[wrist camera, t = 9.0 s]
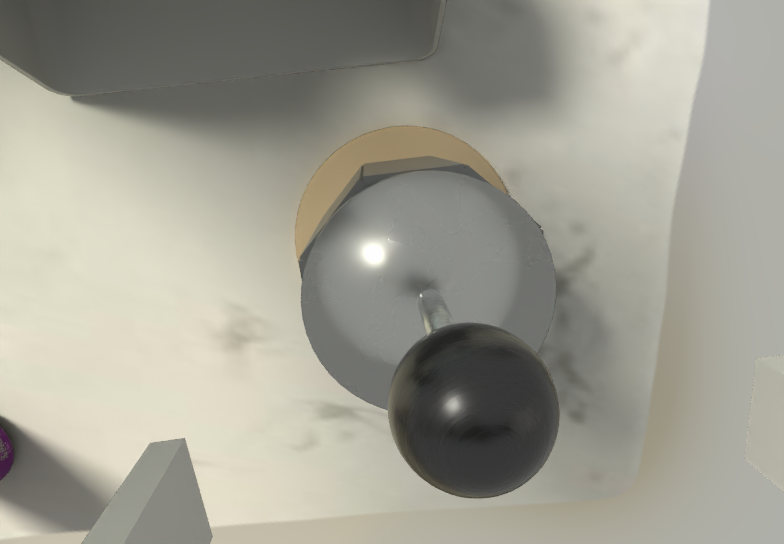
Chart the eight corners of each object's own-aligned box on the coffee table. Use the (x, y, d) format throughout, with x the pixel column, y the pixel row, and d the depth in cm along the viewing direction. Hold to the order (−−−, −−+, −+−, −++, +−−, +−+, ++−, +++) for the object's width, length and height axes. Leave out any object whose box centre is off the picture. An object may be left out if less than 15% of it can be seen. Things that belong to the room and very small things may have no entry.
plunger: (311, 171, 31) (178, 247, 9) (485, 149, 31) (764, 172, 9) (337, 332, 34) (285, 679, 12) (495, 312, 35) (721, 616, 13)
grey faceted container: (278, 140, 33) (225, 141, 20) (506, 112, 33) (588, 97, 21) (317, 365, 37) (294, 473, 25) (517, 339, 38) (589, 433, 25)
